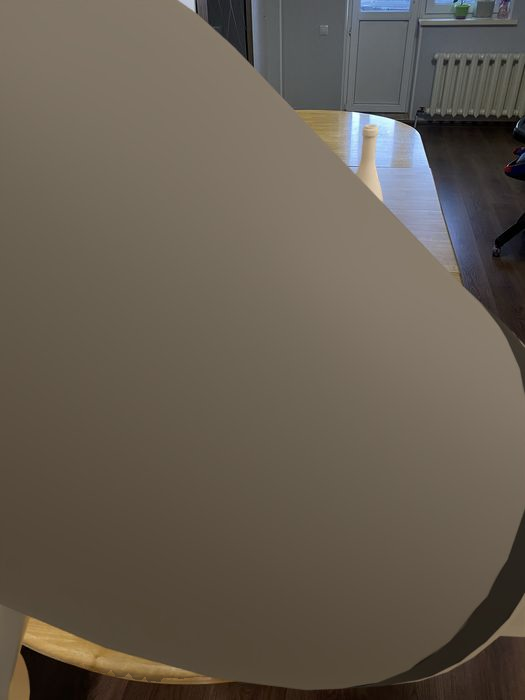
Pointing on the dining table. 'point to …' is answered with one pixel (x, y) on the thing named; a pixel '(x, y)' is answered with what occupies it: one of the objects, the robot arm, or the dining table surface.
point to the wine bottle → (369, 161)
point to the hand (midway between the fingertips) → (194, 411)
